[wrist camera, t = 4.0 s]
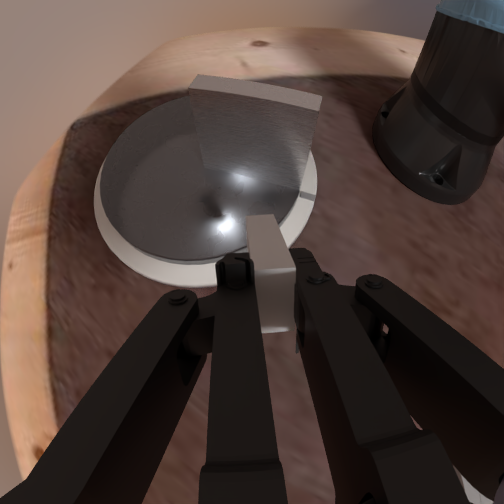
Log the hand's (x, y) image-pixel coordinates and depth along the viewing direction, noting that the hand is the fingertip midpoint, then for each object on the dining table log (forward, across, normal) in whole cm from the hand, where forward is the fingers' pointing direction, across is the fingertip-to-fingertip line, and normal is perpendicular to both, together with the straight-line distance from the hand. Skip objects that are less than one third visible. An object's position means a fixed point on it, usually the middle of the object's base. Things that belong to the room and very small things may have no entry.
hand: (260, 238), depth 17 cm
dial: (+13, -5, +2) cm, 14 cm away
